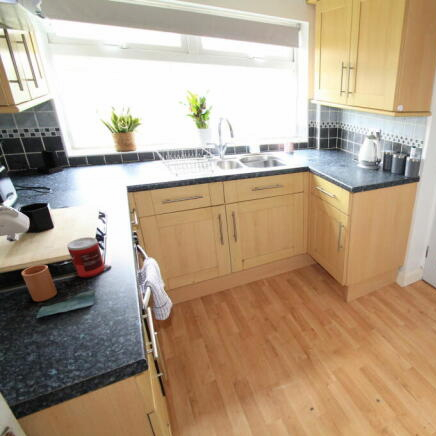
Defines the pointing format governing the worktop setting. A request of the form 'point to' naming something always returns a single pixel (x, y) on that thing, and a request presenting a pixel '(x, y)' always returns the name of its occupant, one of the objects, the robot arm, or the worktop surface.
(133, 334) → the worktop surface
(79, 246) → the canned food
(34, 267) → the terracotta pot
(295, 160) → the worktop surface
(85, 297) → the terrain model
